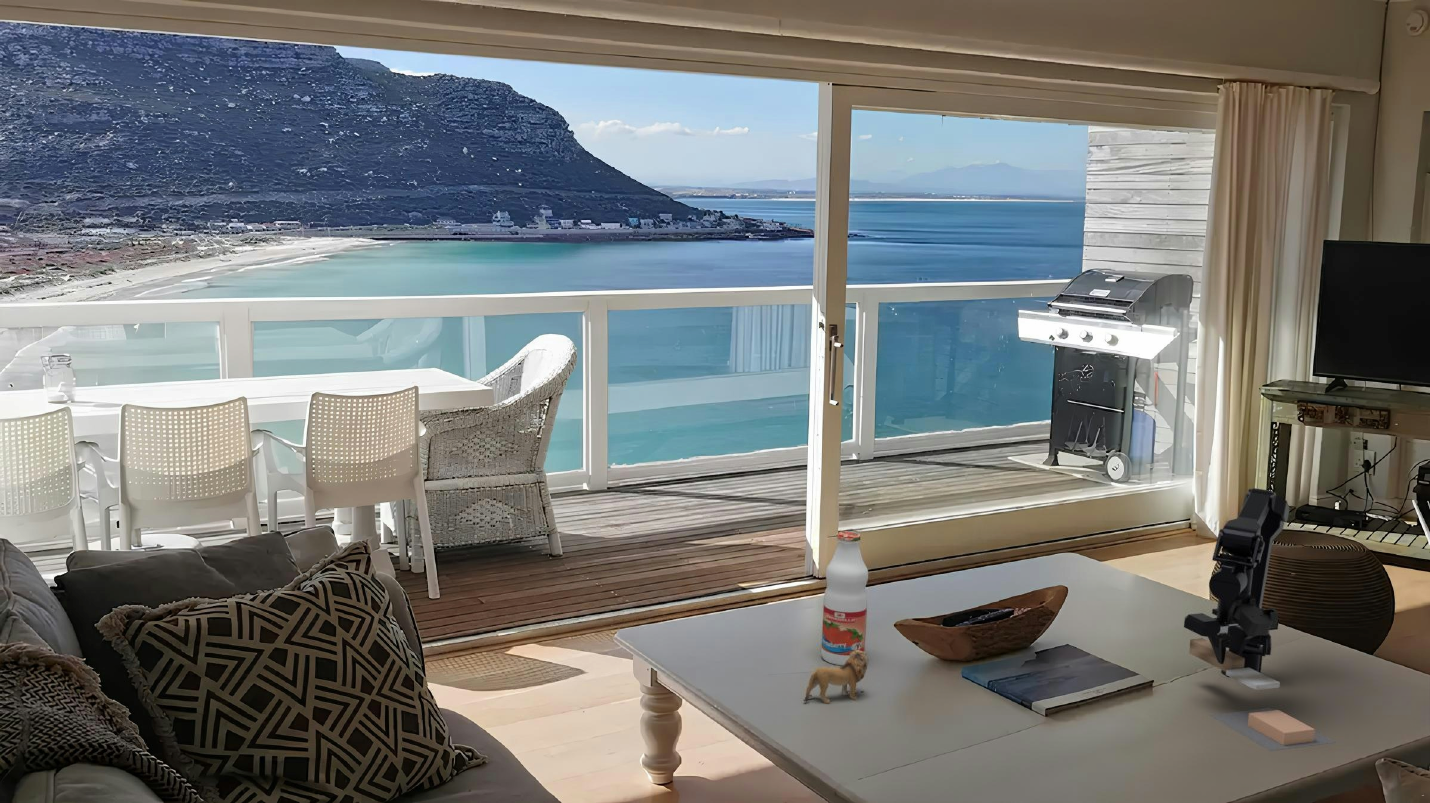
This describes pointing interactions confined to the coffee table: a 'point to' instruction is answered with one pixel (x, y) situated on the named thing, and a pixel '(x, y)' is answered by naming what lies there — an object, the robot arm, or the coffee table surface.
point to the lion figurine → (840, 676)
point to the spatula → (1232, 666)
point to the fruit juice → (845, 601)
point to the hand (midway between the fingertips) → (1227, 662)
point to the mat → (1240, 725)
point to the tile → (1281, 727)
